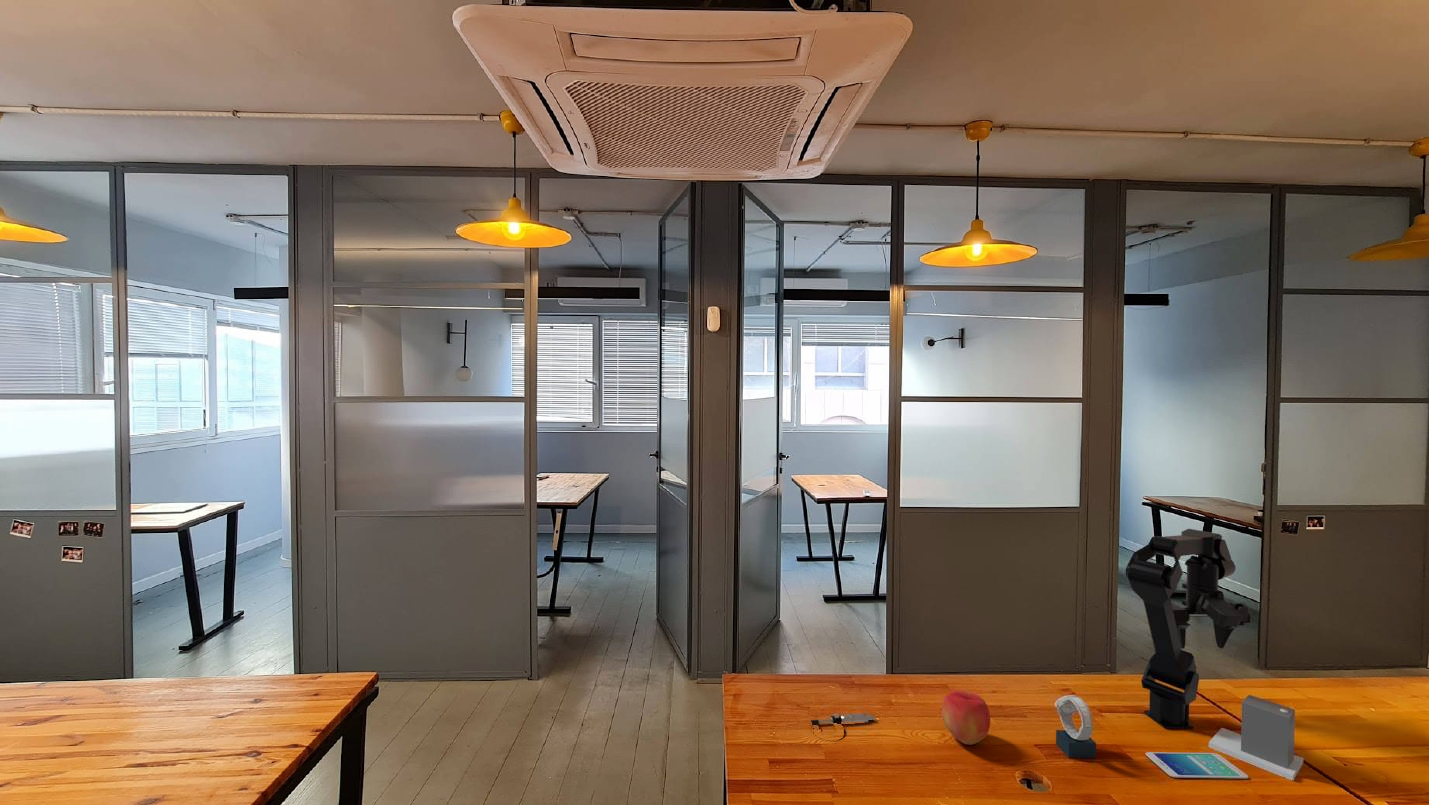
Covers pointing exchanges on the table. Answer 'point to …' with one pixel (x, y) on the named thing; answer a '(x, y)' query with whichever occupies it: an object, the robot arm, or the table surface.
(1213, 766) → the smartphone
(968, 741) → the apple
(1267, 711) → the gray rectangular block
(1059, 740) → the watch
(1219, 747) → the post stand
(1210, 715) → the table surface
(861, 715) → the micrometer
